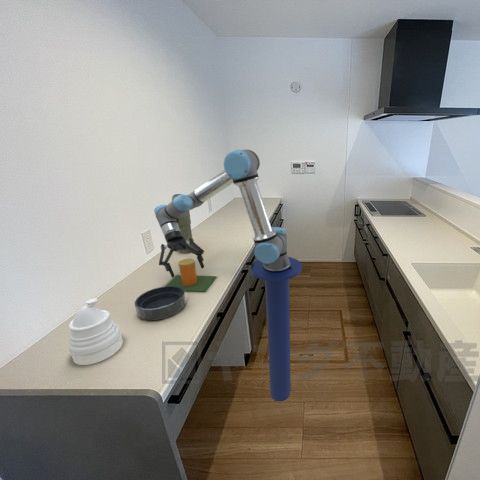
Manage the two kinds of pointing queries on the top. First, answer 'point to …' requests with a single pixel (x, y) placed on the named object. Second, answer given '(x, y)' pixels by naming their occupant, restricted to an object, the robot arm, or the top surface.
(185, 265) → the tea tin
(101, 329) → the honey pot
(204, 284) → the mat
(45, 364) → the top surface
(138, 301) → the bowl
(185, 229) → the green elongated piece
